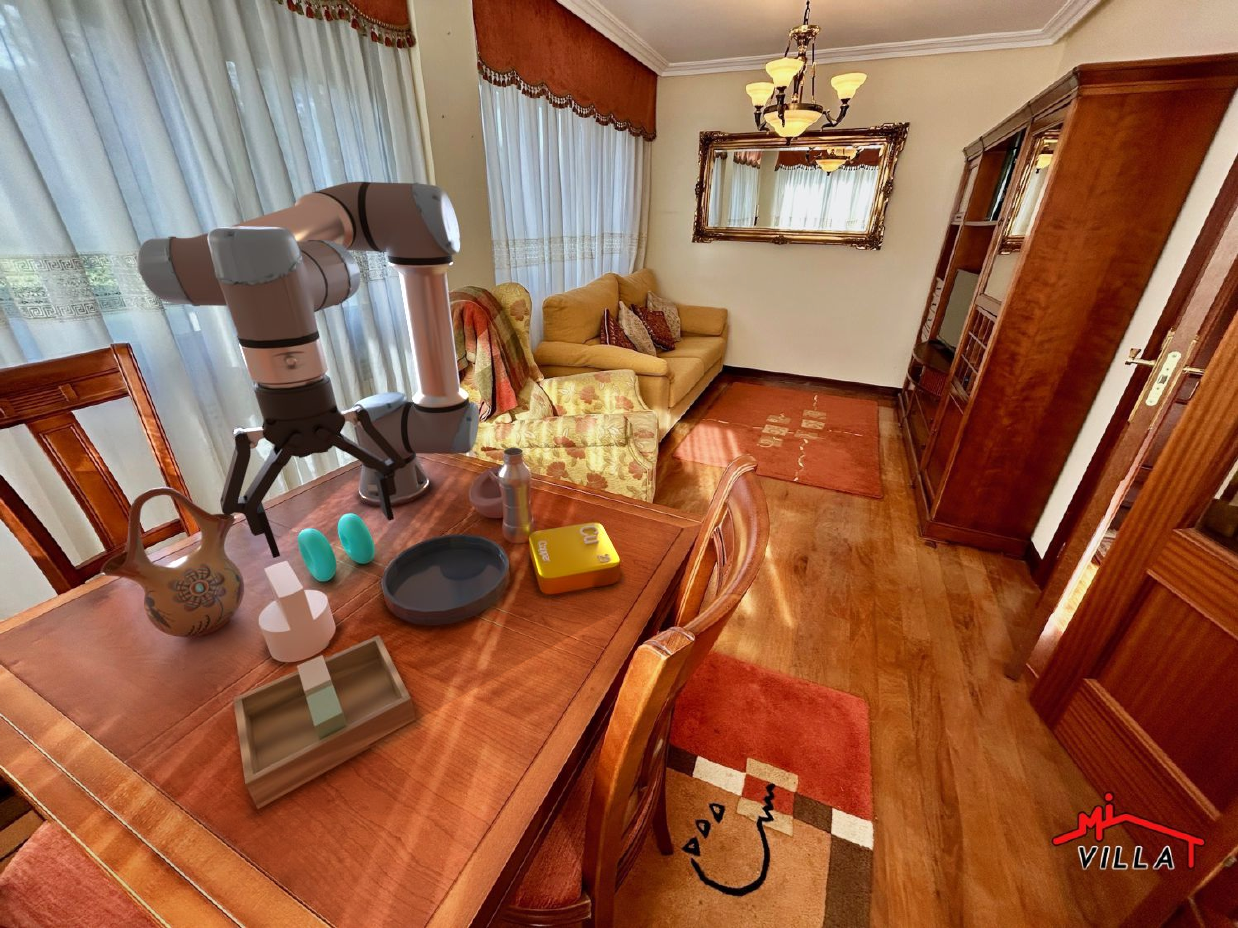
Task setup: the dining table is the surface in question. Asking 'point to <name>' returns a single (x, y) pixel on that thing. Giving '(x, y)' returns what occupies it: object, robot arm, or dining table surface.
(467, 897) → the dining table surface
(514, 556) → the dining table surface
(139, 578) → the ceramic vessel
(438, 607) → the dark grey round tray
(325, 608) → the base with upright slab
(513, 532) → the silver metal bottle
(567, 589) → the element tile
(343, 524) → the donuts
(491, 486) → the pink rounded hollow piece
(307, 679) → the beige rectangular block
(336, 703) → the green rectangular block
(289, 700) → the holder
